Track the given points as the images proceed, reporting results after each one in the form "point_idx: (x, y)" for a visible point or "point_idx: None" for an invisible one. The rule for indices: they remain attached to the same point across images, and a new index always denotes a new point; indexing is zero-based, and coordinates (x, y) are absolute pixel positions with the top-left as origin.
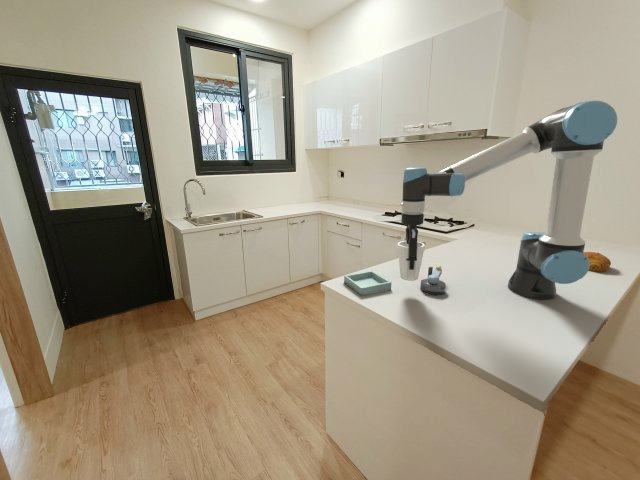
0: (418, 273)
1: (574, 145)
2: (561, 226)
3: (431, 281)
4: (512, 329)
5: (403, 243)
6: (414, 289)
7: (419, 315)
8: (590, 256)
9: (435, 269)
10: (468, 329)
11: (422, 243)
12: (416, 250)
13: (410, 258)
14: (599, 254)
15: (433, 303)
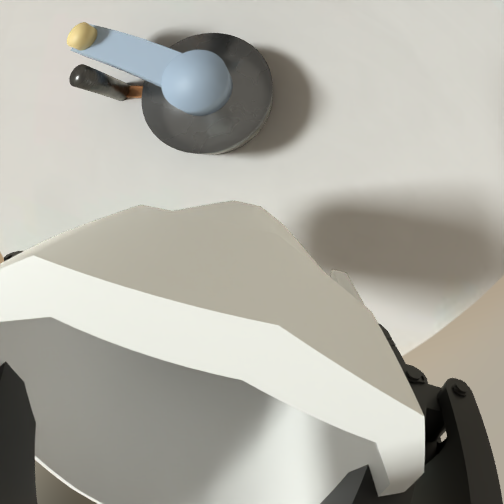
0: (276, 220)
1: None
2: None
3: (221, 101)
4: (484, 28)
5: (62, 453)
6: (200, 183)
7: (431, 250)
8: None
9: (86, 52)
10: (500, 137)
11: (24, 294)
12: (490, 463)
13: (437, 434)
14: None
15: (355, 149)
